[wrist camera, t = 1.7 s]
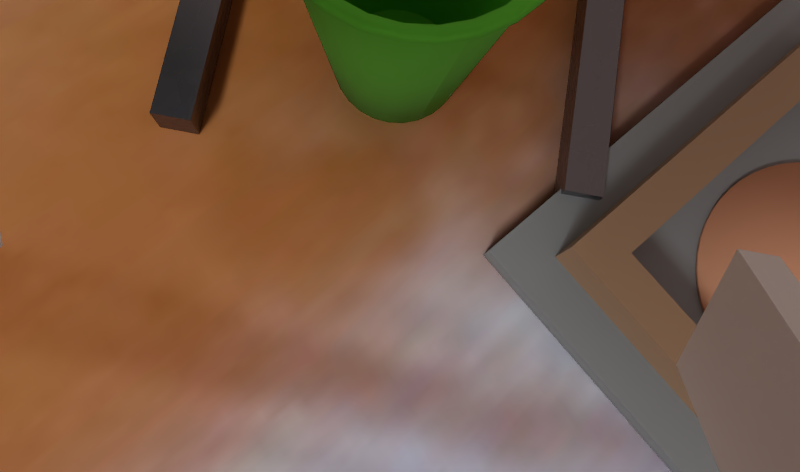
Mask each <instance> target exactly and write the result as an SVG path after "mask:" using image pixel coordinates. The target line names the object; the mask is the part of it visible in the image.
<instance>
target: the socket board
mask: <svg viewBox="0 0 800 472" xmlns="http://www.w3.org/2000/svg"><path fill="white" fill-rule="evenodd" d="M737 249H741V250H747V251H752V252H758V253H763V254H769V255H774V256H780V257H781V259H782V260H783V261H784V263H785V264H786V265H787V267H788V268H789V269H790V271H791V272H792V273H793V275H794V276H795V277H796V279H797V280H798V281H799V283H800V0H782V1H781V2H780V3H778V4H777V5H776V6H775V7H774V8H773V9H771V10H770V11H769V12H768V13H767V14H766V15H764V16H763V17H762V18H761V19H760V20H759V21H757V22H756V23H755V24H754V25H753V26H751V27H750V28H749V29H748V30H747V31H746V32H744V33H743V34H742V35H741V36H740V37H739V38H737V39H736V40H735V41H734V42H733V43H732V44H730V45H729V46H728V47H727V48H726V49H724V50H723V51H722V52H721V53H720V54H719V55H717V56H716V57H715V58H714V59H713V60H712V61H710V62H709V63H708V64H707V65H706V66H705V67H703V68H702V69H701V70H700V71H699V72H697V73H696V74H695V75H694V76H693V77H692V78H690V79H689V80H688V81H687V82H686V83H685V84H683V85H682V86H681V87H680V88H679V89H678V90H676V91H675V92H674V93H673V94H672V95H670V96H669V97H668V98H667V99H666V100H665V101H663V102H662V103H661V104H660V105H659V106H658V107H656V108H655V109H654V110H653V111H652V112H651V113H649V114H648V115H647V116H646V117H645V118H643V119H642V120H641V121H640V122H639V123H638V124H636V125H635V126H634V127H633V128H632V129H631V130H629V131H628V132H627V133H626V134H625V135H624V136H622V137H621V138H620V139H619V140H618V141H616V142H615V143H614V144H613V145H612V146H611V147H609V152H608V161H607V171H606V180H605V189H604V197H603V198H602V199H601V200H593V199H588V198H583V197H577V196H572V195H566V194H561V189H560V190H559V191H558V192H557V193H555V194H554V195H553V196H552V197H551V198H550V199H548V200H547V201H546V202H545V203H544V204H543V205H541V206H540V207H539V208H538V209H537V210H536V211H534V212H533V213H532V214H531V215H530V216H528V217H527V218H526V219H525V220H524V221H523V222H521V223H520V224H519V225H518V226H517V227H516V228H514V229H513V230H512V231H511V232H510V233H509V234H507V235H506V236H505V237H504V238H503V239H501V240H500V241H499V242H498V243H497V244H496V245H494V246H493V247H492V248H491V249H490V250H489V251H487V252H486V253H485V254H484V256H485V257H486V259H487V260H488V261H489V262H490V263H491V264H492V265H493V267H494V268H495V269H496V270H497V271H498V272H499V274H500V275H501V276H502V277H503V278H504V279H505V280H506V282H507V283H508V284H509V285H510V286H511V287H512V288H513V290H514V291H515V292H516V293H517V294H518V295H519V296H520V298H521V299H522V300H523V301H524V302H525V303H526V305H527V306H528V307H529V308H530V309H531V310H532V311H533V313H534V314H535V315H536V316H537V317H538V318H539V319H540V321H541V322H542V323H543V324H544V325H545V326H546V328H547V329H548V330H549V331H550V332H551V333H552V334H553V336H554V337H555V338H556V339H557V340H558V341H559V342H560V344H561V345H562V346H563V347H564V348H565V349H566V350H567V352H568V353H569V354H570V355H571V356H572V357H573V359H574V360H575V361H576V362H577V363H578V364H579V365H580V367H581V368H582V369H583V370H584V371H585V372H586V373H587V375H588V376H589V377H590V378H591V379H592V380H593V382H594V383H595V384H596V385H597V386H598V387H599V388H600V390H601V391H602V392H603V393H604V394H605V395H606V396H607V398H608V399H609V400H610V401H611V402H612V403H613V404H614V406H615V407H616V408H617V409H618V410H619V411H620V413H621V414H622V415H623V416H624V417H625V418H626V419H627V421H628V422H629V423H630V424H631V425H632V426H633V427H634V429H635V430H636V431H637V432H638V433H639V434H640V436H641V437H642V438H643V439H644V440H645V441H646V442H647V444H648V445H649V446H650V447H651V448H652V449H653V450H654V452H655V453H656V454H657V455H658V456H659V457H660V459H661V460H662V461H663V462H664V463H665V464H666V465H667V467H668V468H669V469H670V470H671V471H672V472H720V471H719V468H718V466H717V463H716V461H715V459H714V456H713V454H712V451H711V449H710V446H709V444H708V441H707V439H706V437H705V434H704V432H703V429H702V427H701V424H700V422H699V419H698V417H697V415H696V412H695V410H694V407H693V405H692V402H691V400H690V397H689V395H688V393H687V390H686V388H685V385H684V383H683V380H682V378H681V376H680V373H679V371H678V368H677V366H676V364H677V362H678V360H679V358H680V356H681V354H682V352H683V350H684V349H685V347H686V345H687V343H688V341H689V339H690V337H691V335H692V333H693V332H694V330H695V328H696V326H697V324H698V322H699V320H700V318H701V317H702V315H703V313H704V311H705V309H706V307H707V305H708V303H709V301H710V300H711V298H712V296H713V294H714V292H715V290H716V288H717V286H718V284H719V283H720V281H721V279H722V277H723V275H724V273H725V271H726V269H727V268H728V266H729V264H730V262H731V260H732V258H733V256H734V254H735V252H736V251H737Z"/></svg>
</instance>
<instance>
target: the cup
mask: <svg viewBox="0 0 800 472" xmlns="http://www.w3.org/2000/svg"><path fill="white" fill-rule="evenodd" d="M544 1H545V0H304V3H305V5H306V7H307V10H308V12H309V15H310V17H311V19H312V22H313V24H314V26H315V29H316V31H317V34H318V36H319V38H320V41H321V43H322V46H323V48H324V50H325V53H326V55H327V57H328V60H329V62H330V65H331V67H332V69H333V72H334V74H335V77H336V79H337V81H338V84H339V86H340V88H341V90H342V92H343V93H344V94H345V96H346V97H347V99H348V100H349V101H350V102H351V103H352V104H353V105H354V106H355V107H356V108H357V109H358V110H360V111H361V112H363V113H365V114H367V115H369V116H370V117H372V118H375V119H378V120H382V121H386V122H395V123H405V122H411V121H416V120H419V119H422V118H424V117H426V116H428V115H431V114H432V113H434V112H435V111H436V110H437V109H439V108H440V107H441V106H442V105H443V104H444V103H445V102H446V101H447V100H448V98H449V97H450V96H451V95H452V94H453V92H454V91H455V90H456V89H457V88H458V86H459V85H460V84H461V83H462V82H463V80H464V79H465V78H466V77H467V76H468V74H469V73H470V72H471V71H472V70H473V69H474V67H475V66H476V65H477V64H478V63H479V61H480V60H481V59H482V58H483V57H484V55H485V54H486V53H487V52H488V51H489V49H490V48H491V47H492V46H493V45H494V43H495V42H496V41H497V40H498V39H499V37H500V36H501V35H502V34H503V33H504V31H505V30H506V29H507V28H508V27H509V26H510V25H512V24H515V23H517V22H518V21H520V20H521V19H522V18H524V17H525V16H526V15H527V14H529V13H530V12H531V11H533V10H534V9H535V8H536V7H538V6H539V5H540V4H542V3H543V2H544Z"/></svg>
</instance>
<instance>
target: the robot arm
mask: <svg viewBox="0 0 800 472" xmlns="http://www.w3.org/2000/svg"><path fill="white" fill-rule="evenodd" d="M1 246H2V239H1V234H0V247H1ZM676 366H677V368H678V371H679V373H680V376H681V378H682V380H683V383H684V385H685V388H686V390H687V393H688V395H689V397H690V400H691V402H692V405H693V407H694V410H695V412H696V415H697V417H698V419H699V422H700V424H701V427H702V429H703V432H704V434H705V437H706V439H707V441H708V444H709V446H710V449H711V451H712V454H713V456H714V459H715V461H716V463H717V466H718V468H719V471H720V472H800V283H799V281H798V280H797V279H796V277H795V276H794V275H793V273H792V272H791V271H790V269H789V268H788V267H787V265H786V264H785V263H784V261H783V260H782V259H781V257H780V256H774V255H769V254H763V253H758V252H752V251H747V250H741V249H737V251H736V252H735V254H734V256H733V258H732V260H731V262H730V264H729V266H728V268H727V269H726V271H725V273H724V275H723V277H722V279H721V281H720V283H719V284H718V286H717V288H716V290H715V292H714V294H713V296H712V298H711V300H710V301H709V303H708V305H707V307H706V309H705V311H704V313H703V315H702V317H701V318H700V320H699V322H698V324H697V326H696V328H695V330H694V332H693V333H692V335H691V337H690V339H689V341H688V343H687V345H686V347H685V349H684V350H683V352H682V354H681V356H680V358H679V360H678V362H677V364H676Z"/></svg>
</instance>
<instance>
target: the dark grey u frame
mask: <svg viewBox="0 0 800 472" xmlns="http://www.w3.org/2000/svg"><path fill="white" fill-rule="evenodd" d="M624 1H625V0H578V5H577V13H576V21H575V29H574V37H573V45H572V53H571V62H570V70H569V78H568V86H567V94H566V102H565V110H564V118H563V127H562V135H561V143H560V151H559V159H558V167H557V175H556V183H555V191H554V194H555V193H557V192H558V191H559V190H560V189H561V194H566V195H572V196H577V197H583V198H588V199H593V200H601V199H602V198H603V197H604V189H605V180H606V171H607V161H608V152H609V142H610V133H611V123H612V114H613V105H614V95H615V86H616V76H617V67H618V57H619V48H620V39H621V29H622V20H623V10H624ZM231 4H232V0H180V2H179V6H178V10H177V13H176V17H175V21H174V25H173V28H172V32H171V36H170V39H169V43H168V47H167V51H166V54H165V58H164V62H163V65H162V69H161V73H160V77H159V80H158V84H157V88H156V91H155V95H154V99H153V103H152V106H151V110H150V114H151V115H152V117H153V118H154V119H155V121H156V122H157V123H158V125H159V126H160V127H163V128H168V129H174V130H179V131H185V132H190V133H195V134H199V132H200V128H201V124H202V120H203V116H204V112H205V108H206V104H207V100H208V96H209V92H210V88H211V84H212V80H213V76H214V72H215V68H216V64H217V60H218V56H219V52H220V48H221V44H222V40H223V36H224V32H225V28H226V24H227V20H228V16H229V12H230V8H231Z"/></svg>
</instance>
